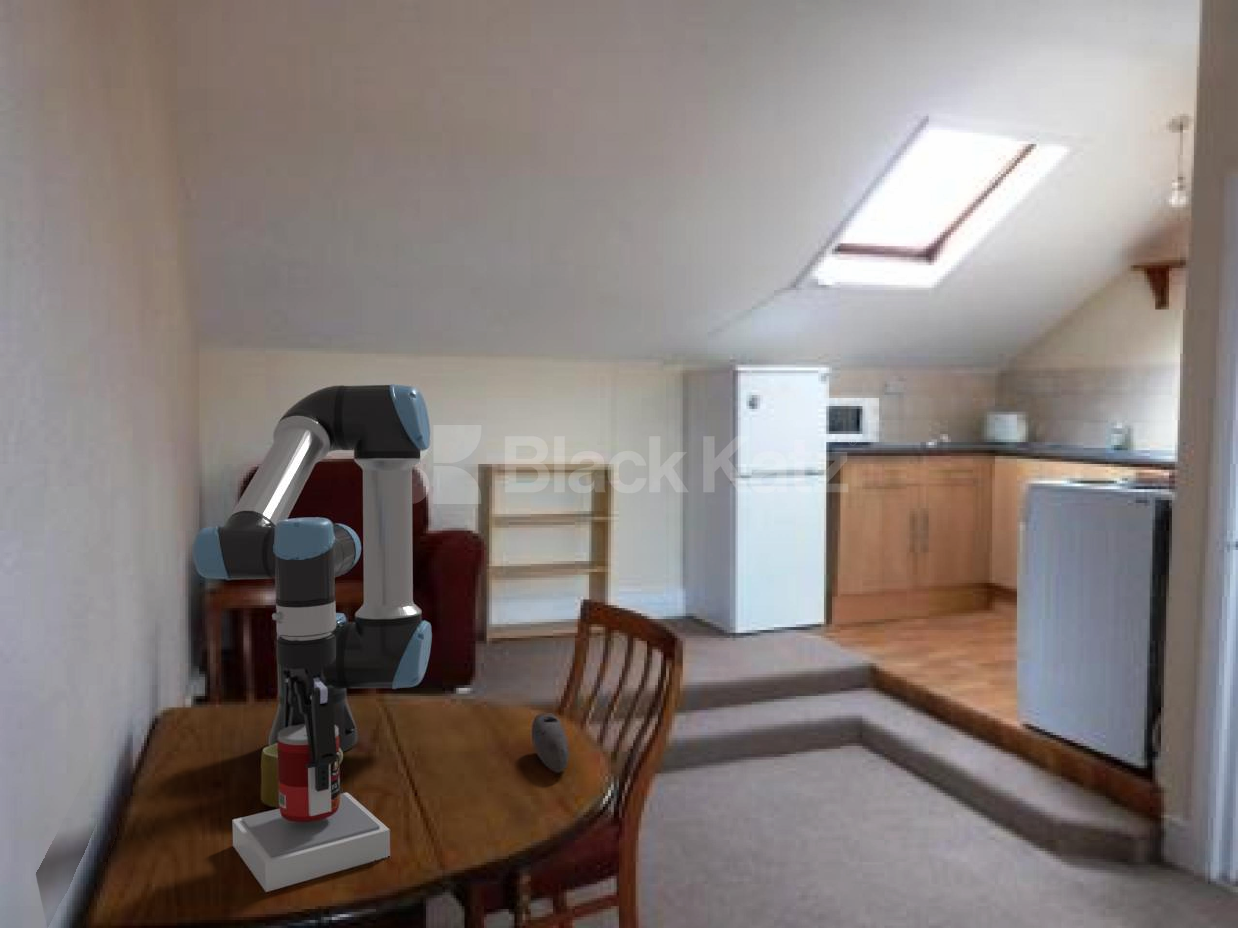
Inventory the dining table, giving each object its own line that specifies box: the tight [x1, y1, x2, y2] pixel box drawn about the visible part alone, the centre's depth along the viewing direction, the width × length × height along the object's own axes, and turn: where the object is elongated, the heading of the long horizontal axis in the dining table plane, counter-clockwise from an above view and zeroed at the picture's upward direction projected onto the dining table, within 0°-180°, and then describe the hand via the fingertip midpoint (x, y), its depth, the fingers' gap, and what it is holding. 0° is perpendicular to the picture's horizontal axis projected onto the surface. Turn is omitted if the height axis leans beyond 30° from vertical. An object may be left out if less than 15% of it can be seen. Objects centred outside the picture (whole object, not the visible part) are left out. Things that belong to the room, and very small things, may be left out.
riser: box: [231, 791, 391, 893], centre depth 125 cm, size 16×16×4 cm
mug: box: [260, 743, 344, 809], centre depth 143 cm, size 12×10×10 cm
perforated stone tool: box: [531, 712, 569, 774], centre depth 158 cm, size 15×5×7 cm, turn 13°
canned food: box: [278, 724, 341, 822], centre depth 125 cm, size 8×8×11 cm
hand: (309, 801), depth 125 cm, fingers closed on canned food, 8 cm apart
